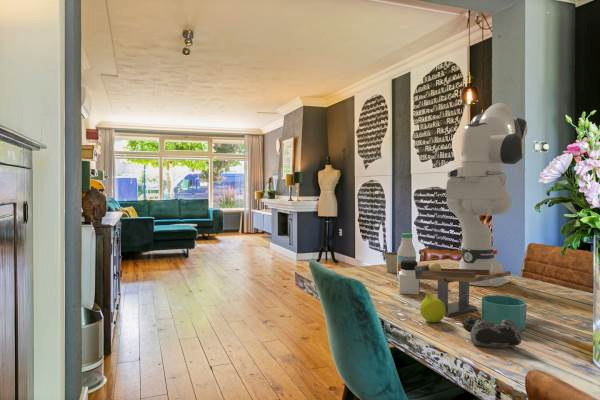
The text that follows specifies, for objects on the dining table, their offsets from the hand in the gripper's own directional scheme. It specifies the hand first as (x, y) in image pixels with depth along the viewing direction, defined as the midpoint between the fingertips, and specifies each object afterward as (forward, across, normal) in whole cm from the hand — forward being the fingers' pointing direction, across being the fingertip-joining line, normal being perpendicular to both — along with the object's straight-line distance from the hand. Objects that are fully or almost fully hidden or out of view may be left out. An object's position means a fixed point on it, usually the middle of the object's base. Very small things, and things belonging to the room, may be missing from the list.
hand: (474, 213), depth 134 cm
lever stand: (+31, 0, +9) cm, 32 cm away
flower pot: (+30, +54, -19) cm, 65 cm away
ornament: (+31, -4, +24) cm, 40 cm away
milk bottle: (+30, +38, -10) cm, 50 cm away
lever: (+21, +1, +4) cm, 22 cm away
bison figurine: (+32, -22, +24) cm, 46 cm away
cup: (+31, -16, +9) cm, 36 cm away
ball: (+18, +8, +10) cm, 22 cm away
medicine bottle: (+31, +24, +4) cm, 39 cm away
